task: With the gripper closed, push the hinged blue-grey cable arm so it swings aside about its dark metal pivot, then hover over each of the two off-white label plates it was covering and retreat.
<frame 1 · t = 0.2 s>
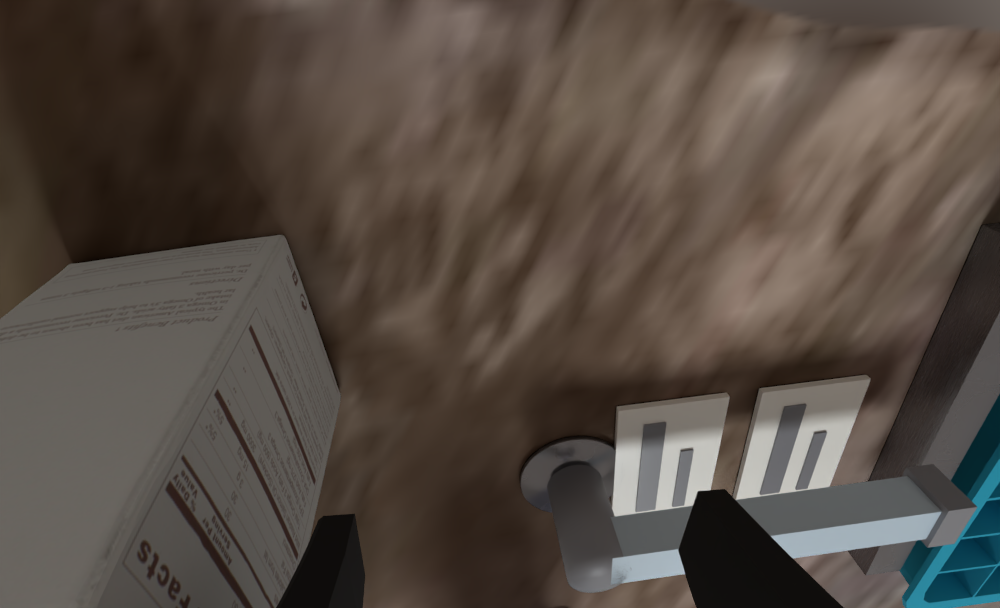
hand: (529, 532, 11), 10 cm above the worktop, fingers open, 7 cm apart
supplement box: (224, 331, 19), on the worktop
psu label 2: (663, 461, 25), on the worktop
pivot base: (571, 474, 25), on the worktop
cable arm: (742, 505, 23), point 3 cm above the worktop, hinge at 0.0°
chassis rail: (917, 413, 26), on the worktop
psu label 1: (793, 444, 26), on the worktop
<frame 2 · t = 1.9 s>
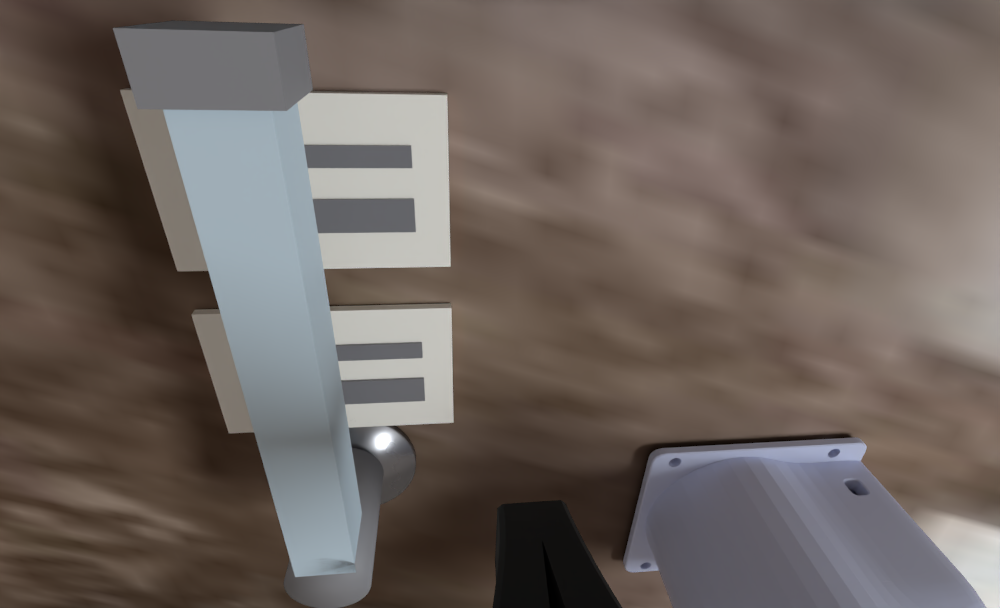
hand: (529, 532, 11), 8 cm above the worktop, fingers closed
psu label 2: (336, 368, 18), on the worktop
pivot base: (350, 460, 20), on the worktop
cable arm: (307, 362, 14), point 3 cm above the worktop, hinge at 0.0°
psu label 1: (306, 185, 15), on the worktop
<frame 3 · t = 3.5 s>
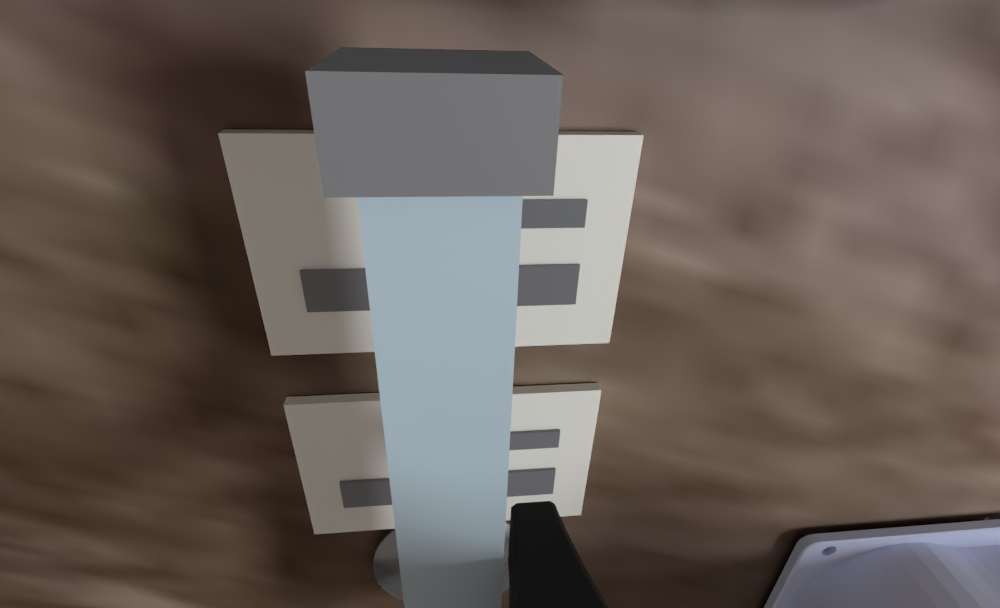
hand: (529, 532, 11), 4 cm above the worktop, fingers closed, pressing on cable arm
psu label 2: (449, 458, 15), on the worktop
pivot base: (452, 555, 17), on the worktop
cable arm: (449, 480, 11), point 3 cm above the worktop, hinge at 0.0°, touching gripper
psu label 1: (443, 247, 12), on the worktop
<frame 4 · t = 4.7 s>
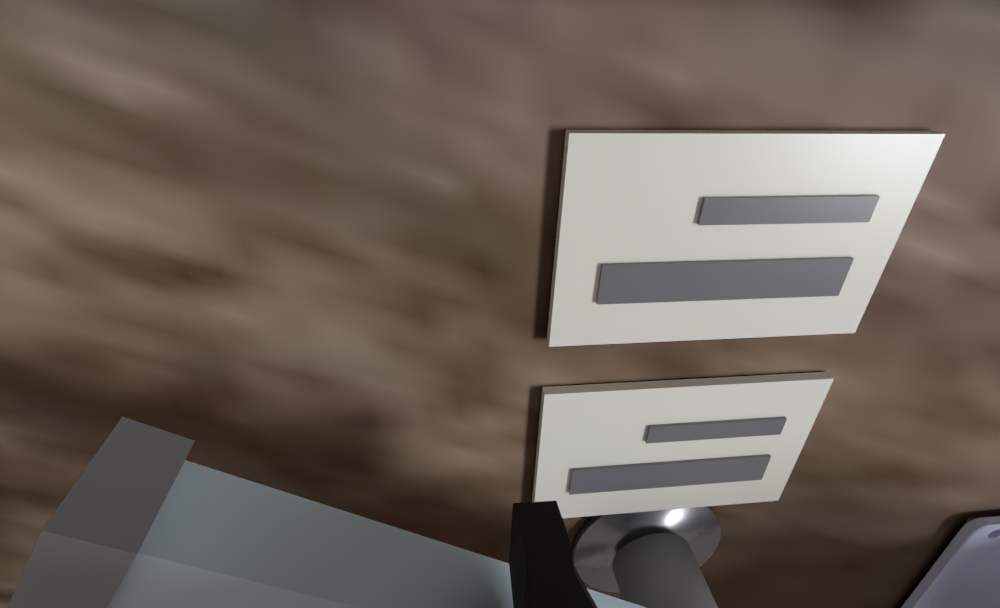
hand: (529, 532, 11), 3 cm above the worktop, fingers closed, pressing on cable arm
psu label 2: (670, 445, 15), on the worktop
pivot base: (644, 541, 18), on the worktop
cable arm: (481, 571, 13), point 3 cm above the worktop, hinge at 56.4°, touching gripper
psu label 1: (726, 242, 12), on the worktop
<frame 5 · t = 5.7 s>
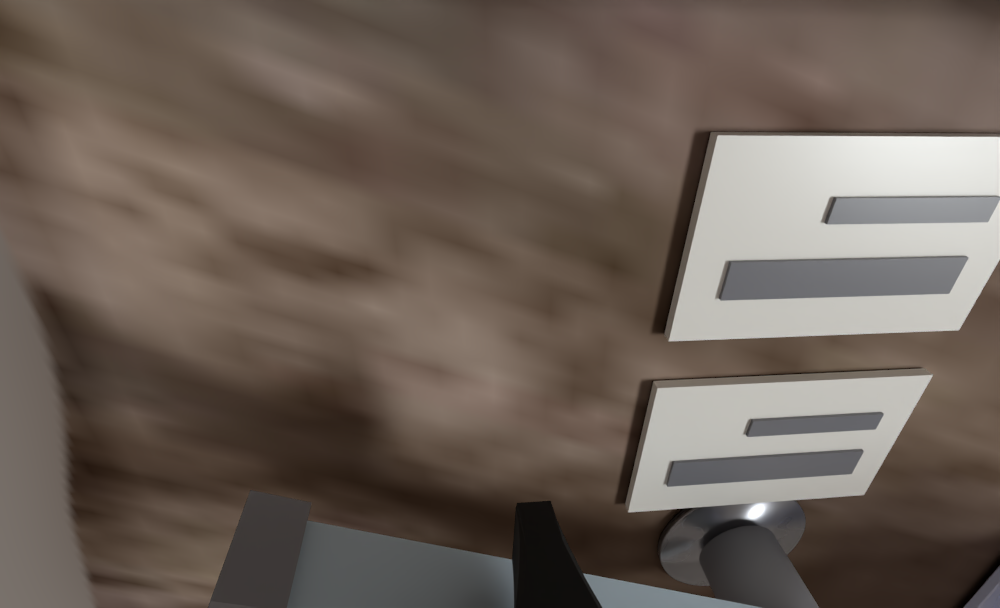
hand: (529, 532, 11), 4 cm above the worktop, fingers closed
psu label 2: (766, 440, 16), on the worktop
pivot base: (728, 534, 18), on the worktop
cable arm: (575, 584, 14), point 3 cm above the worktop, hinge at 66.2°, touching gripper
psu label 1: (846, 241, 12), on the worktop
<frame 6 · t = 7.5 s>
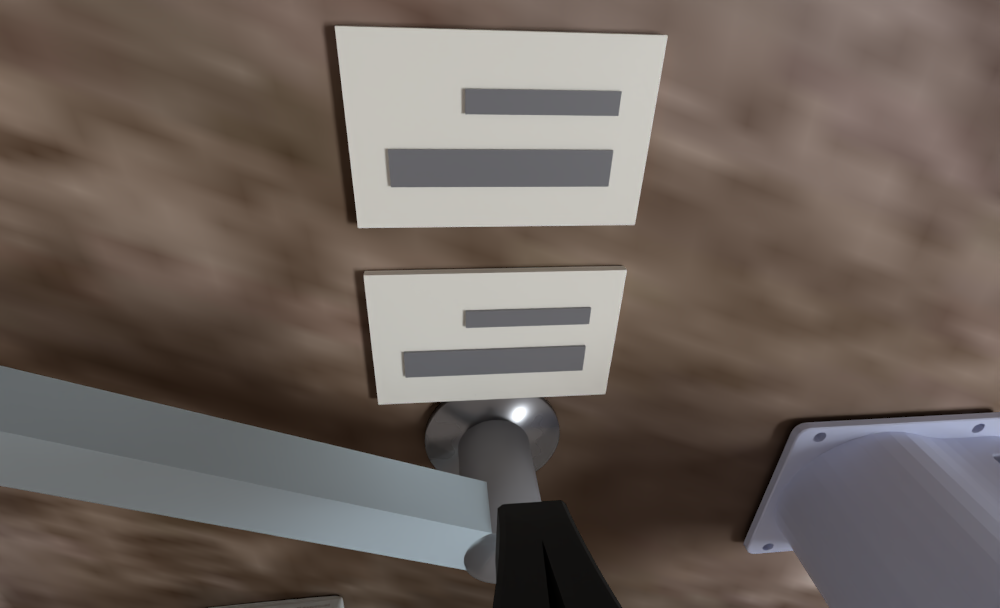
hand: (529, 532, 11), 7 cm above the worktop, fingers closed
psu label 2: (495, 335, 17), on the worktop
pivot base: (492, 434, 20), on the worktop
cable arm: (283, 448, 15), point 3 cm above the worktop, hinge at 66.4°
psu label 1: (502, 134, 14), on the worktop
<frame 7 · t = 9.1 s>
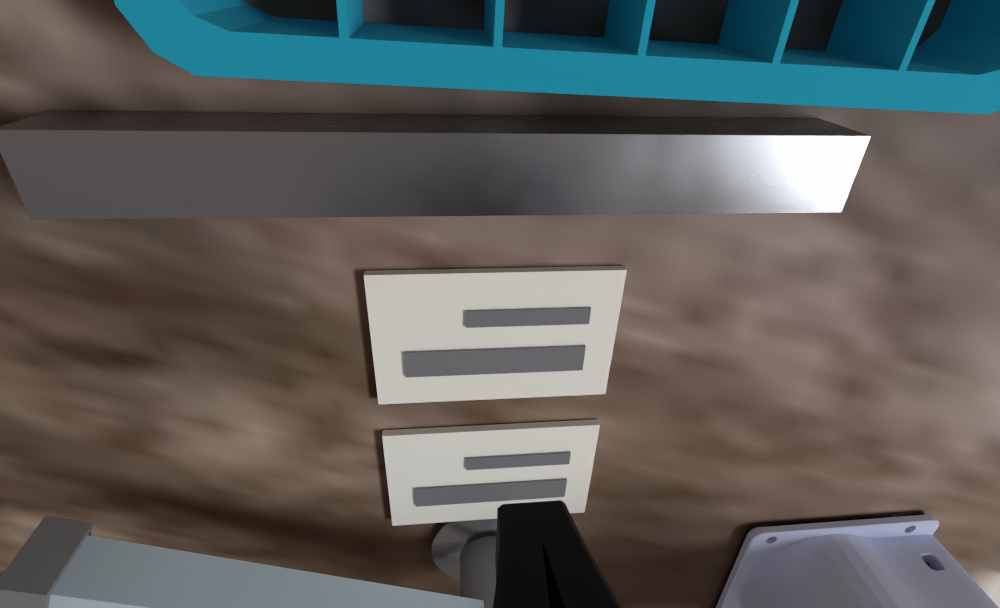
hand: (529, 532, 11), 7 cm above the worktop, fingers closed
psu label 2: (491, 471, 21), on the worktop
pivot base: (488, 542, 23), on the worktop
cable arm: (317, 580, 19), point 3 cm above the worktop, hinge at 66.4°
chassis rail: (464, 153, 14), on the worktop
psu label 1: (495, 335, 17), on the worktop
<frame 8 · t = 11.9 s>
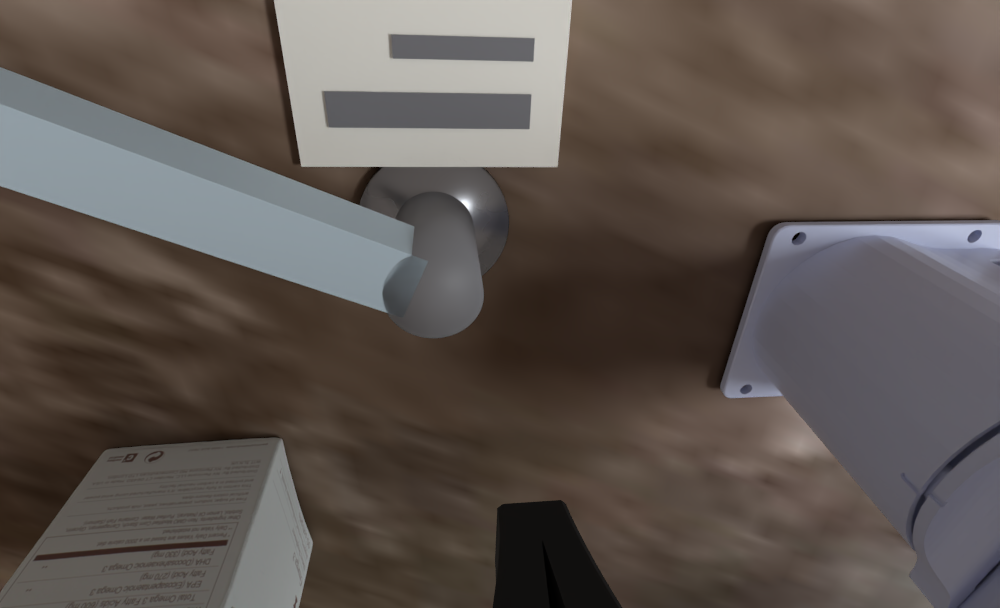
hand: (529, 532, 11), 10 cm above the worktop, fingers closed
supplement box: (220, 493, 24), on the worktop
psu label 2: (429, 79, 16), on the worktop
pivot base: (434, 222, 18), on the worktop
cable arm: (176, 165, 13), point 3 cm above the worktop, hinge at 66.4°
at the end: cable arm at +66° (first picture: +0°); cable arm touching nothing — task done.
